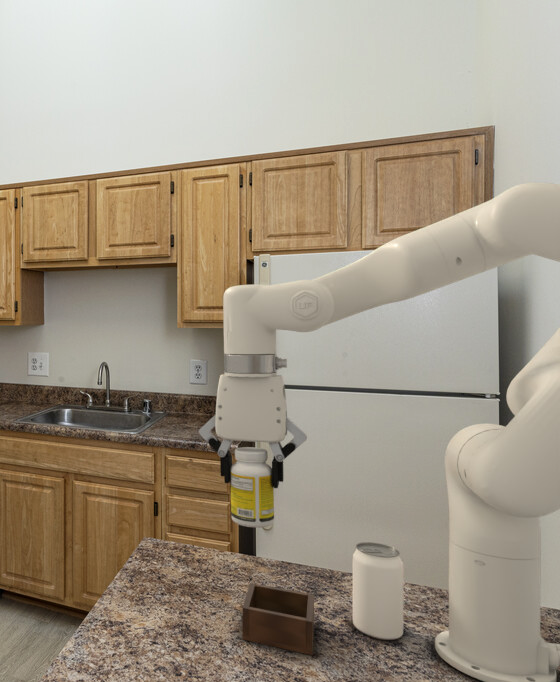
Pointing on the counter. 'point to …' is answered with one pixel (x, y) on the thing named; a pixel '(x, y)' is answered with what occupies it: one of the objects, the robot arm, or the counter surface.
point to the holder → (279, 618)
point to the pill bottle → (252, 488)
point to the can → (378, 591)
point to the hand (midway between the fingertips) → (251, 482)
